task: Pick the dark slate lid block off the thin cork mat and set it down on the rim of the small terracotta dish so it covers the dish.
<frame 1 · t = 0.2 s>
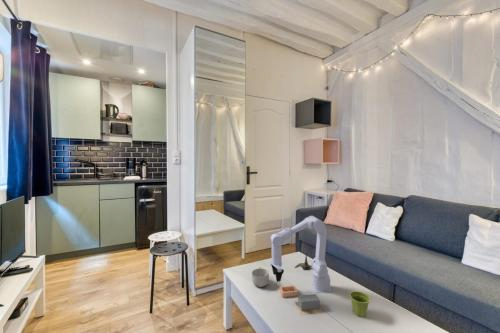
hand: (276, 277, 132), 10 cm above the table, fingers open, 7 cm apart
slate tile: (308, 307, 120), resting on cork mat
plant pot: (359, 313, 116), on the table
cork mat: (308, 307, 120), on the table
eiffel tower figurine: (306, 268, 162), on the table
terracotta dish: (288, 294, 132), on the table
teacup: (260, 283, 144), on the table
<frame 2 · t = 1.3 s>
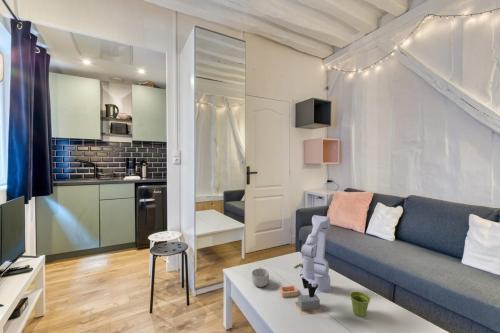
hand: (308, 292, 120), 8 cm above the table, fingers open, 7 cm apart
nothing on the table moved.
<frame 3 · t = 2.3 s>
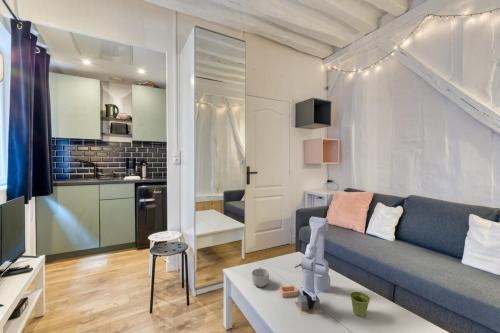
hand: (308, 305, 120), 1 cm above the table, fingers closed on slate tile, 5 cm apart
slate tile: (308, 307, 120), resting on cork mat, touching gripper
everything else where it was.
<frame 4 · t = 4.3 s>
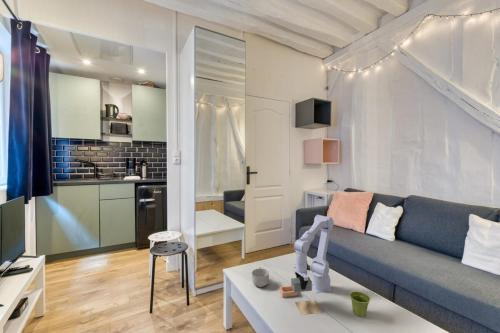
hand: (301, 286, 124), 9 cm above the table, fingers closed on slate tile, 5 cm apart
slate tile: (301, 288, 124), point 8 cm above the table, touching gripper
everything else where it was.
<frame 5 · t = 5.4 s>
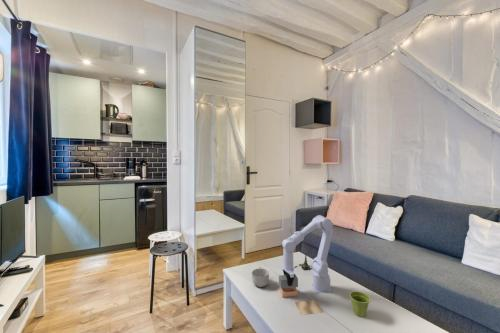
hand: (288, 282, 132), 7 cm above the table, fingers closed on slate tile, 5 cm apart
slate tile: (288, 285, 132), point 5 cm above the table, touching gripper
everything else where it was.
when the fingers open (5 cm above the table, at t = 6.2 s): slate tile stays where it is, resting on terracotta dish.
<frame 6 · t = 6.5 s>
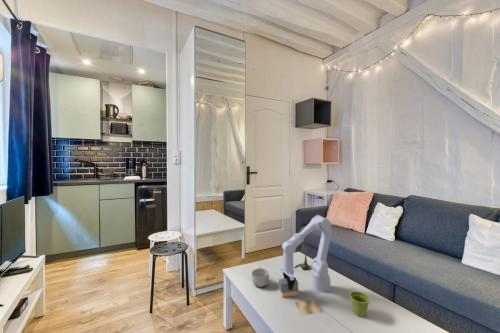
hand: (288, 285, 132), 5 cm above the table, fingers open, 7 cm apart
slate tile: (288, 289, 132), point 3 cm above the table, touching terracotta dish
everything else where it was.
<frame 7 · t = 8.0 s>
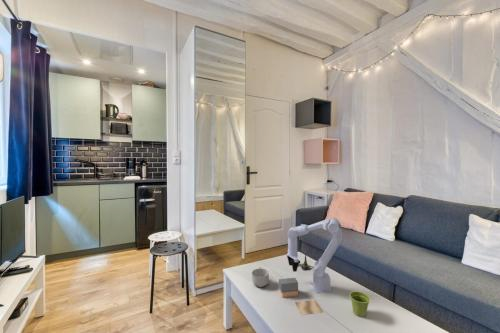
hand: (292, 268, 142), 10 cm above the table, fingers open, 7 cm apart
nothing on the table moved.
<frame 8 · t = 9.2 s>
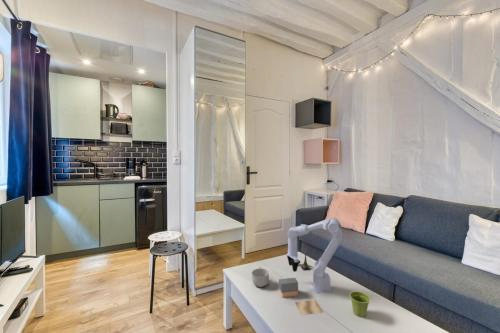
hand: (292, 268, 143), 10 cm above the table, fingers open, 7 cm apart
nothing on the table moved.
at the end: slate tile 0.1 cm off-centre on the terracotta dish, point 3.0 cm above the terracotta dish's base; slate tile tilted 0°; the gripper is holding nothing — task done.
